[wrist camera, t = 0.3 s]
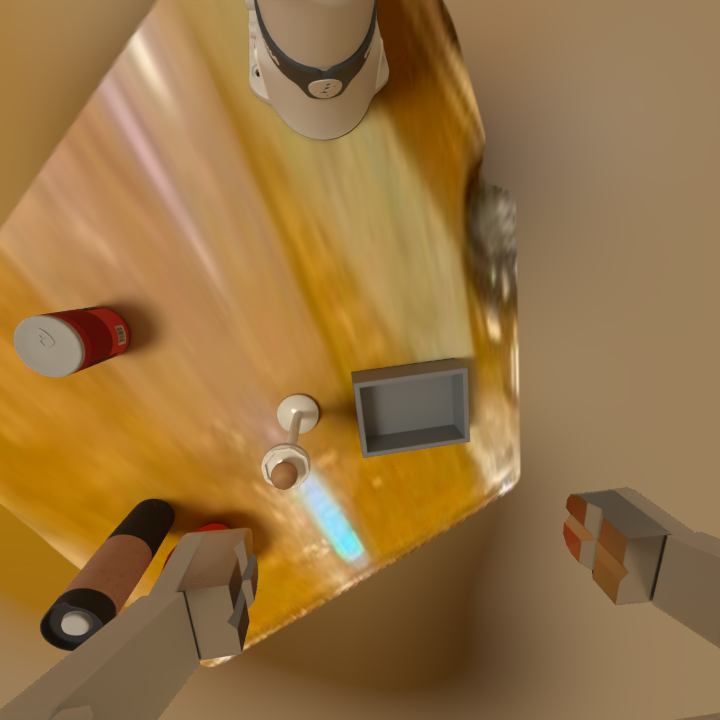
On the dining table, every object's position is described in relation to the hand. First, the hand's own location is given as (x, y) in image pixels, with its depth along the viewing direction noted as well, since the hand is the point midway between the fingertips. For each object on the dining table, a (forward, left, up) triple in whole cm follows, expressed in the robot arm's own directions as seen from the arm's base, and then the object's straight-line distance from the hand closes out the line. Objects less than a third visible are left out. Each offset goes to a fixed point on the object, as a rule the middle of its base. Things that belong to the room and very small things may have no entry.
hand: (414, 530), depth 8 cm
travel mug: (+32, -39, -47) cm, 69 cm away
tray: (+17, +9, -47) cm, 51 cm away
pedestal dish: (+16, -10, -47) cm, 51 cm away
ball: (+16, -10, -29) cm, 35 cm away
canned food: (-2, -37, -47) cm, 60 cm away
